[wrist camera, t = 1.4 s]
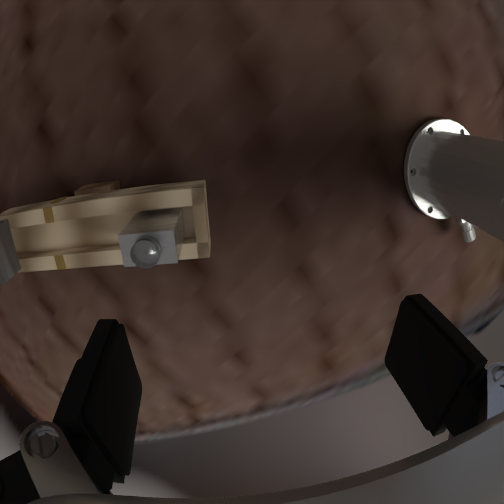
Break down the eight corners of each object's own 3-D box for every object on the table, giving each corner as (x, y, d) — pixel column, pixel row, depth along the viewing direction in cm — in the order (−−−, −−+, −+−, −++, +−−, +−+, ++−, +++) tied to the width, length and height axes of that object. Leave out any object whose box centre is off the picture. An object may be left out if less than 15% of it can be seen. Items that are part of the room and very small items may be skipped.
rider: (182, 207, 26) (171, 235, 19) (185, 233, 27) (176, 269, 20) (137, 211, 25) (113, 240, 19) (141, 237, 26) (120, 273, 20)
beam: (205, 169, 30) (200, 190, 20) (211, 236, 32) (209, 282, 23) (22, 197, 28) (-30, 225, 19) (35, 252, 31) (-9, 293, 21)
